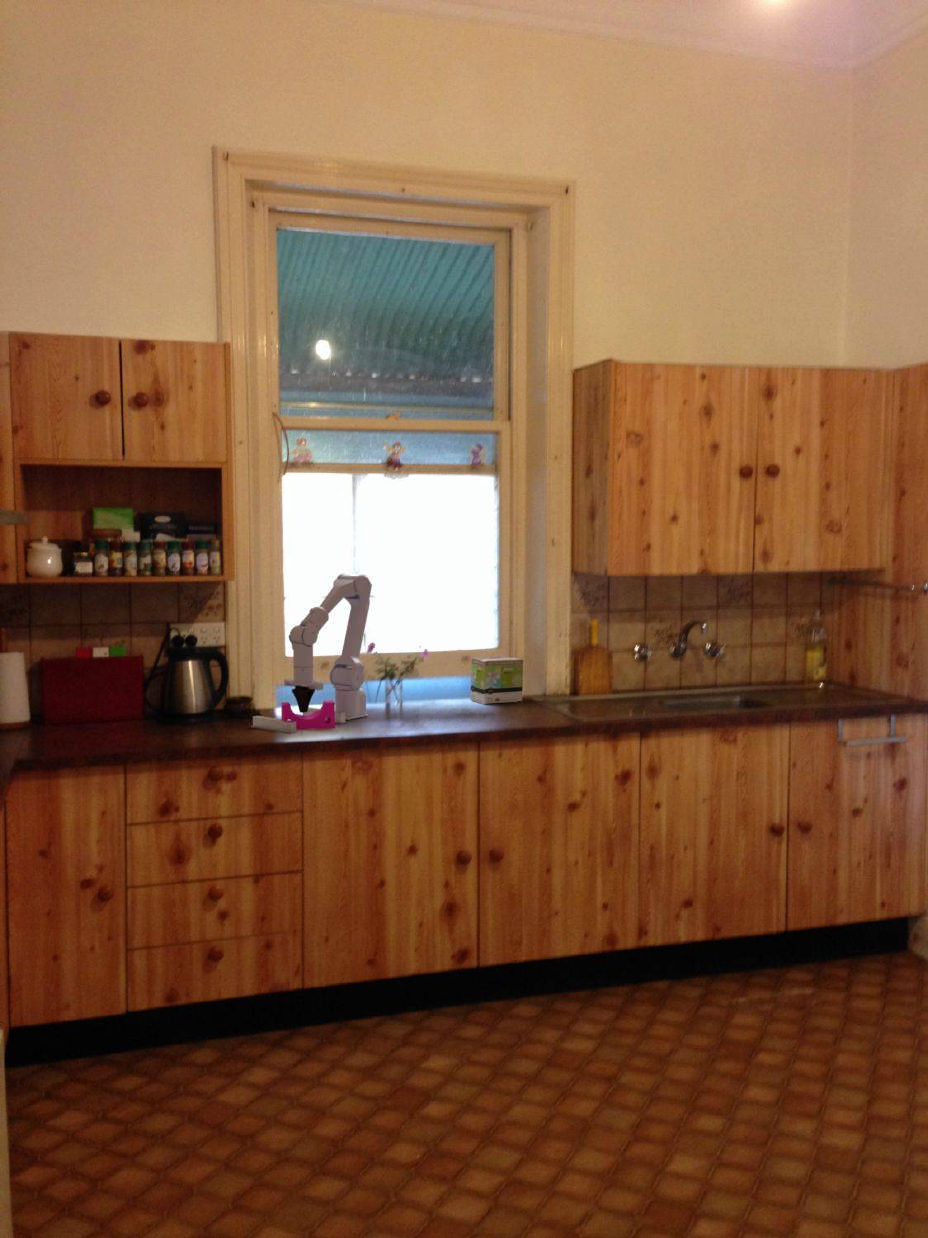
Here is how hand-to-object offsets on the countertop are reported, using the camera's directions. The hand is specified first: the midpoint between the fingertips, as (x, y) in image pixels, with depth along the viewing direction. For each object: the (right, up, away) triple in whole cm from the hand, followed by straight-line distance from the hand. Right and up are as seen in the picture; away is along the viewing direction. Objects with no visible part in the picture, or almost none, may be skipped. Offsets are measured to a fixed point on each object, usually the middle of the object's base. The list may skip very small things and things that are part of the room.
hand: (303, 712), depth 320 cm
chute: (-1, -4, +1) cm, 4 cm away
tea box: (+58, -1, +47) cm, 75 cm away
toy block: (+2, -4, -2) cm, 5 cm away
